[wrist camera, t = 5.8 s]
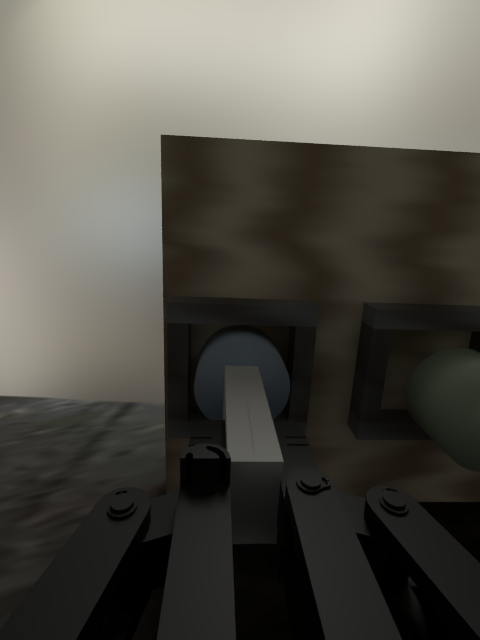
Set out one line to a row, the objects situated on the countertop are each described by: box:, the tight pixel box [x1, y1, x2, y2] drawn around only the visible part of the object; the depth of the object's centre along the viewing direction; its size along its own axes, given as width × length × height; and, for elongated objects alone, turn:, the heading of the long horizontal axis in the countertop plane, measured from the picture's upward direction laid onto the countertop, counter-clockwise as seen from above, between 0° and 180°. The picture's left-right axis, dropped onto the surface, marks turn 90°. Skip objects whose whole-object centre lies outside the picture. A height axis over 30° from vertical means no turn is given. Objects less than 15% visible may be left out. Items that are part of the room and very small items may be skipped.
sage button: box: [405, 347, 480, 472], centre depth 15 cm, size 4×3×4 cm
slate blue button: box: [194, 325, 290, 420], centre depth 17 cm, size 4×3×4 cm
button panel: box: [161, 135, 480, 502], centre depth 20 cm, size 28×4×20 cm, turn 93°
